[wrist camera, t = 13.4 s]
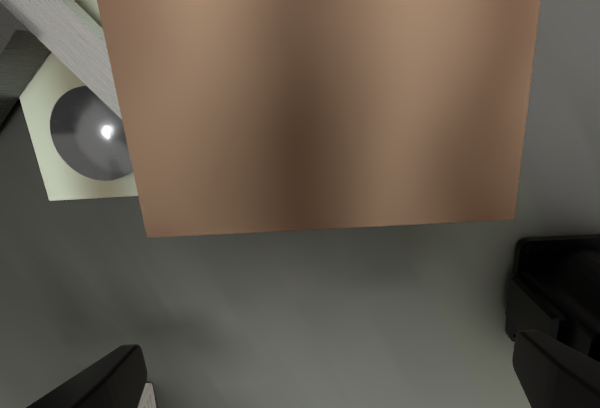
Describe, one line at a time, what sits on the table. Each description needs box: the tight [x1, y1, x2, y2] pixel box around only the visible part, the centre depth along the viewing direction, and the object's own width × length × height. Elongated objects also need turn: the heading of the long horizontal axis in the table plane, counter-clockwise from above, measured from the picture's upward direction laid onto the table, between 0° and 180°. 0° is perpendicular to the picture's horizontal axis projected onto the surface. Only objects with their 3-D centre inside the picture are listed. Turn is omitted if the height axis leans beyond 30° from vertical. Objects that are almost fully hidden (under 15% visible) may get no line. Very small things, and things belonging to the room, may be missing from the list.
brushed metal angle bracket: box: [0, 0, 122, 126], centre depth 17 cm, size 2×11×9 cm
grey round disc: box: [50, 86, 133, 181], centre depth 18 cm, size 4×4×1 cm
